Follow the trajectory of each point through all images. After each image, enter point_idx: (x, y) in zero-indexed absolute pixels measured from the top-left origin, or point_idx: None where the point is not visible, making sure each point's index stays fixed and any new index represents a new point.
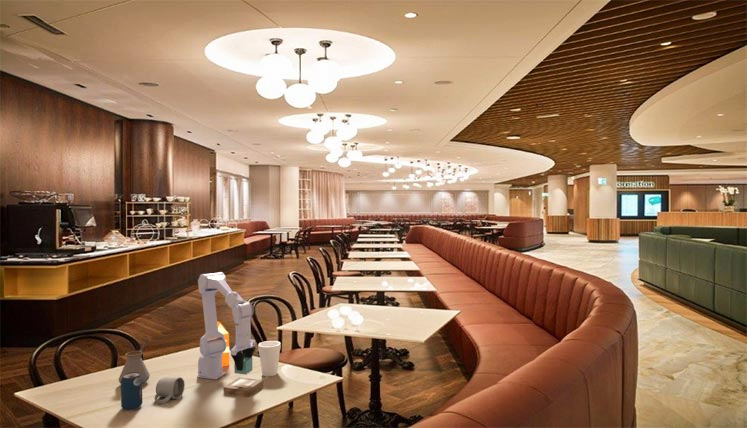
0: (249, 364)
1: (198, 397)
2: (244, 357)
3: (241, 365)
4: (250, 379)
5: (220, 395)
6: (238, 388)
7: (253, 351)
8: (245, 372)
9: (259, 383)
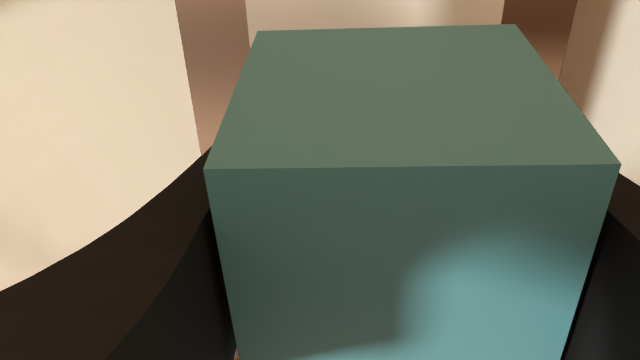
0: (378, 95)
1: None
2: (268, 343)
3: (634, 190)
4: (212, 50)
5: None
6: (553, 27)
7: (27, 313)
8: (526, 45)
9: None
